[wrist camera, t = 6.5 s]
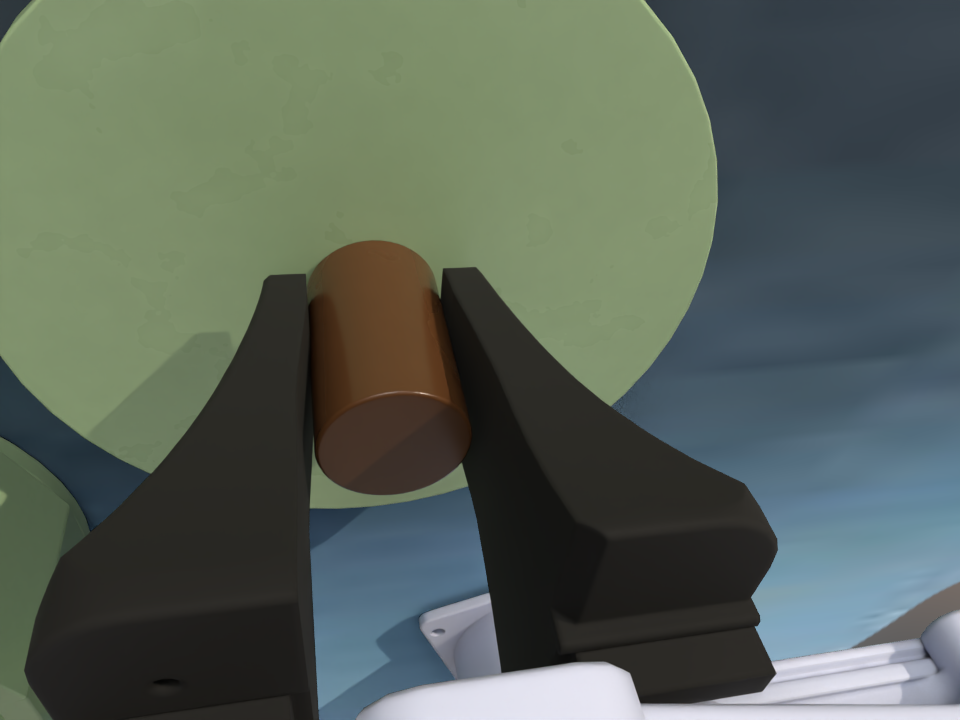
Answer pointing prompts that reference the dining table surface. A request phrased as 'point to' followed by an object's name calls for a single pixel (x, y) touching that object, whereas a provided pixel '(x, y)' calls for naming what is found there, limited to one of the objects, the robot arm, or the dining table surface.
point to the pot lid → (340, 208)
